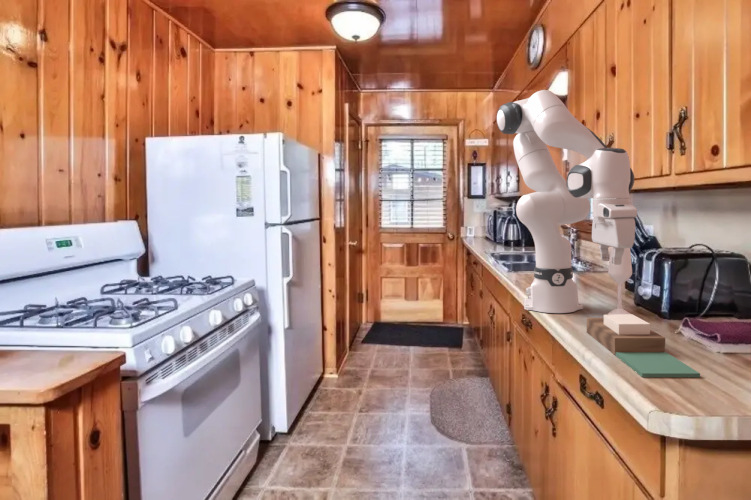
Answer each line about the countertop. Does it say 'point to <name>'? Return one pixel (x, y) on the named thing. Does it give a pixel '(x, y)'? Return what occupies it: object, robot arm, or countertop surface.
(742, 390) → the countertop surface
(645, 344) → the brown striped block
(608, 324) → the cream block
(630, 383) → the countertop surface
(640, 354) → the mat
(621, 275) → the champagne flute
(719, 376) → the countertop surface
